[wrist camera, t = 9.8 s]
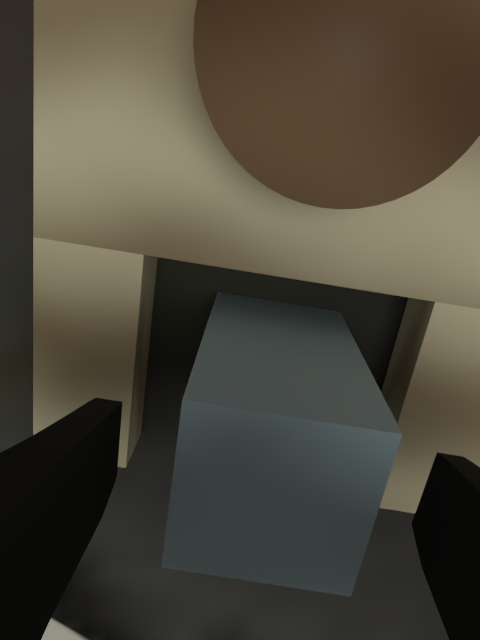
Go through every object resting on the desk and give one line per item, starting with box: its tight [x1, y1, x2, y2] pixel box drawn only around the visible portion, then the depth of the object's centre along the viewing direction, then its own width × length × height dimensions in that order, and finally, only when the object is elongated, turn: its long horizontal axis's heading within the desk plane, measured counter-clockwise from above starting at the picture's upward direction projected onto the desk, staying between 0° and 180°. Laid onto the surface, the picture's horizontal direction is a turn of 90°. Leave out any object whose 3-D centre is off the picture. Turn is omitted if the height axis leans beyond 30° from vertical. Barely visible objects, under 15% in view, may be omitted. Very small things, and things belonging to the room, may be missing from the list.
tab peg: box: [161, 292, 403, 597], centre depth 12 cm, size 4×4×7 cm
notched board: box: [33, 0, 480, 513], centre depth 12 cm, size 17×14×5 cm
